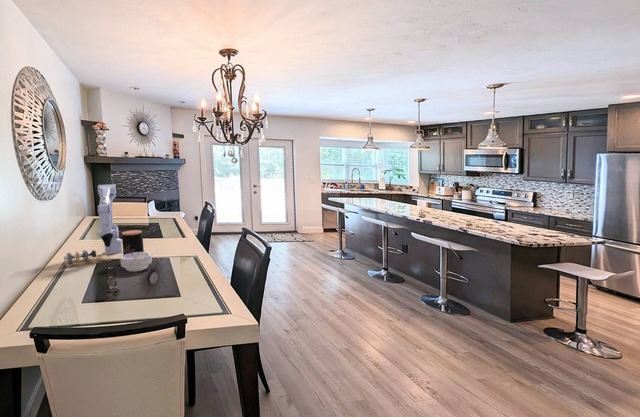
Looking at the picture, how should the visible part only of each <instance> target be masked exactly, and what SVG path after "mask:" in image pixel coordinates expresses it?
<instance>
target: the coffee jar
mask: <svg viewBox="0 0 640 417" xmlns="http://www.w3.org/2000/svg"><path fill="white" fill-rule="evenodd" d="M142 233H143V230H140V229H135V230H133V229H132V230H127V231H123V232H121V235H122V236H121V245H122V256H123V255H125V254H129V253H135V252H145V250H144V239H143V237H144V235H143V234H142Z"/></svg>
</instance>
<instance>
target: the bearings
mask: <svg viewBox="0 0 640 417" xmlns="http://www.w3.org/2000/svg"><path fill="white" fill-rule="evenodd" d="M88 253H89V252H88V251H87V250H82V254H84V257H82V258H83V260H85V261H89V260H88V258H89V256H88ZM79 254H80V253H79V251H75V255H77V258H75V260H76V261H77V262H80V259H81V258H79ZM72 255H73V254H71V252H66V256H68V260H66V261H67V262H68V263H69V264H72V260H73V259H72Z"/></svg>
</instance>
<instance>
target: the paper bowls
mask: <svg viewBox="0 0 640 417" xmlns="http://www.w3.org/2000/svg"><path fill="white" fill-rule="evenodd" d="M119 259H120V266H121V267H122V268H125V270H126V271H128V272H133V273H134V272H141V271H144V270H146V269H147V268H148V266H149V265H150V264H152V263H153V262H152V259H153V258H152V253H150V252H147V251H144V252H135V253H129V254H125V255H123V254H122V255H121V256H120V257H119Z"/></svg>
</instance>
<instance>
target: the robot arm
mask: <svg viewBox="0 0 640 417" xmlns="http://www.w3.org/2000/svg"><path fill="white" fill-rule="evenodd" d="M97 193H98V196H99V205H97V213H98V217H99V225H100V231H99V232H98V233H96V238H100V239H101V240H102V242H103V243H104V244H103V248H104V251H103V255H107V256H109V255H113V254H114V255H115V254H120V253H123V245H122V239H121V238H119V237H120V236H119V235H120V234H119V226H118V225H117V224H115V223H114V214H113V212H114V211H113V200H114V199H116V197H117V189H116V185H115V184H98V185H97Z"/></svg>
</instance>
